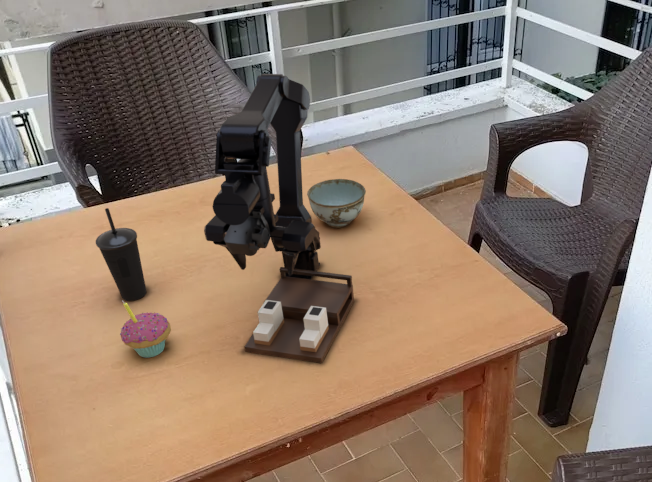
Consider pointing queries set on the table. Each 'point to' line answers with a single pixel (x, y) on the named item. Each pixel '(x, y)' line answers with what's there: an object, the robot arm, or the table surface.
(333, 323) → the shoe rack
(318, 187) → the bowl
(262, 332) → the white l-shaped block
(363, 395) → the table surface
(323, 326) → the white stacked box shape
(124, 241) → the drinking cup
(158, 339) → the cupcake
